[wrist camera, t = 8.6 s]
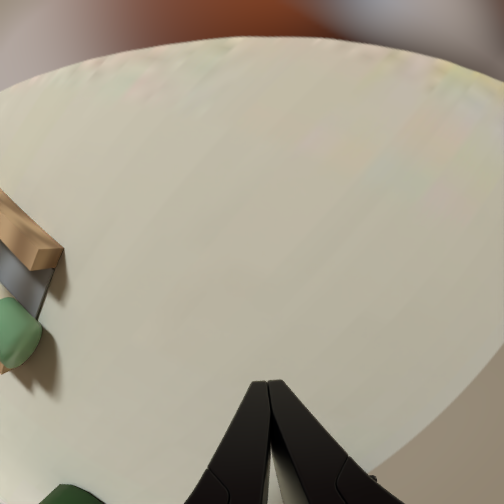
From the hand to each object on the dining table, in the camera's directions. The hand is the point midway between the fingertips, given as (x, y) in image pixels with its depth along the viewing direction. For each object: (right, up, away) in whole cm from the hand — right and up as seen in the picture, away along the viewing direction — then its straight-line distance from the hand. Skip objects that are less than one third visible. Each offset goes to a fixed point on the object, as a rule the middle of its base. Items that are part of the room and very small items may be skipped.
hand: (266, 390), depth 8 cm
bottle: (-20, -4, +13) cm, 24 cm away
